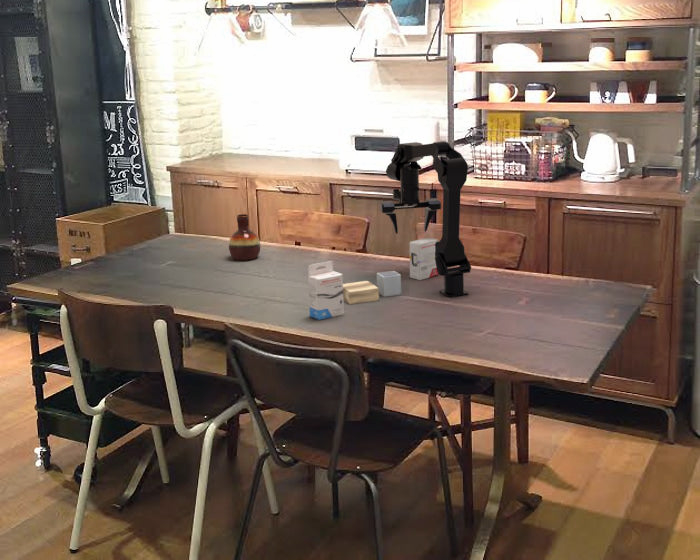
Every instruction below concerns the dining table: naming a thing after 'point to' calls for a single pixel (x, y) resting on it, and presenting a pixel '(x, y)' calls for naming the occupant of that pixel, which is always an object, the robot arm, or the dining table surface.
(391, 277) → the gray paneled cube
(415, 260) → the ink box
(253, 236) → the vase
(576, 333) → the dining table surface
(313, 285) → the ink box
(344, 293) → the beige square block
